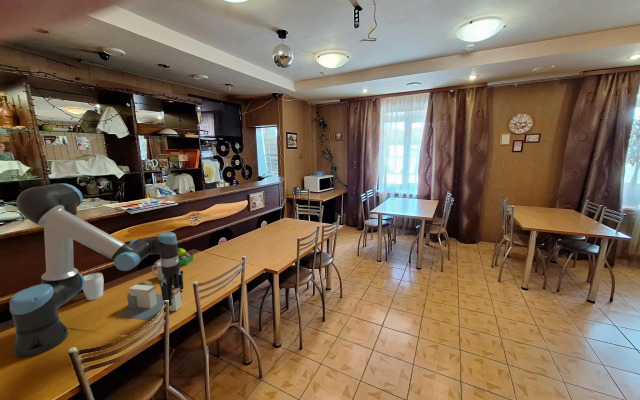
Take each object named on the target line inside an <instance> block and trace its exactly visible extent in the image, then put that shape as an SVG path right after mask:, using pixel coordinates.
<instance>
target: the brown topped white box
mask: <svg viewBox="0 0 640 400" xmlns="http://www.w3.org/2000/svg"><path fill="white" fill-rule="evenodd" d="M181 294H182V293H181ZM181 294H180V288H174V286H172V298H173V300H174V309H175V310H174V311H173V312H177V311H179V309H180V308H182V307H183V304H182V299H181V297H182V295H181ZM164 301H165V300H164Z"/></svg>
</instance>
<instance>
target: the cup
mask: <svg viewBox="0 0 640 400" xmlns="http://www.w3.org/2000/svg"><path fill="white" fill-rule="evenodd" d="M83 277H84V279H85V284H84V287H83V289H82V290H83V293H84V296H85V297H86V300H88V301H93V300H94V301H95V300H97V299H101V298H102V297H103V295H104V284H105V283H104V275H103V273H102V272H95V273H94V272H93V273H89V274H86V275H83Z"/></svg>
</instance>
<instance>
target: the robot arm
mask: <svg viewBox="0 0 640 400" xmlns="http://www.w3.org/2000/svg"><path fill="white" fill-rule="evenodd" d="M83 199H84V198H83V193H82V192H81V191H80V189H79V188H77V187H76V186H74V185H72V184H69V183H52V184H47V185H42V186H40V185H39V186H34V187H29V188H27V189H25V190H23V191H21V192H20V193H19V195H18V196H17V198H16V208H17V210H18V211H19V213H20V214H21V215H22V216H23V217H25V218H26V219H27V220H29V221H31V222H32V223H34V224H36V225H38V226H40V227H43V232H44V233H43V234H44V251H45V256H44V257H45V270H46V271H45V272H44V273H43V274H42V275H41V283H40V284H35V285H32V286H29V287H28V288H24V289H22V290H19V291H18V292H17V293H15V294H14V295H13V296H12V297H11V298H10V300H9V312H10V315H11V318H12V322H13V327H14V328H15V333H16V336H15V339H14V343H13V347H12V350H13V356H14V357H16V358H27V357H33V356H36V355H39V354H42V353H45V352H46V351H47V352H48V351H49V350H51V349H53V348H56V347H57V346H58V345H60V344H62V343H63V342H64V341H65V340H66V339H67V337H68V336H69V332H68V331H69V330H68V328H67V326H66V325H65V324H64V323H63V322H62V320H61V319H60V317H59V312H58V309H59V308H60V307H62V306H64V304H66V303H67V302H69V301H70V300H72V299H73V298H74V297H76V296H77V295H78V294H80V292H81V291H82V290H83V287H84V284H85V279H84V275H83V274H81V273H80V271H79V270H78V269H77V268H76V267H74V266H75V265H74V262H75V261H74V241H76V242H77V243H80V244H81V245H83V246H86V247H87V248H89V249H91V250H93V251H95V252H97V253H99V254H101V255H103V256H104V257H107V258H108V259H111V260H112V261H113V265H114V266H115V267H116V269H117V270H119V271H125V272H126V271H130V270H132V269H134V268H135V267H137V265H140V262H142V261H143V260H144V259H145V258H146V257H148V256H149V255H159V258H160V261H161V266H162V267H161V268H162V274H163V275H164V280H163V281H160V282H159V283H158V285H159V286H160V290H161V295H162V299H163V300H169V310H170V312H175V311H174V310H175V309H174V300H173V298H172V287H173V288H180V294H182V293H183V290H184V276H183V274H184V271H183V270H181V269H180V266H181V265H179V263H178V262H179V258H178V257H179V256H178V240H177V239H178V238H177V234H176V233H175V232H171V231H169V232H162V233H160V234H158V236H157V237H156V238H155V237H153V238H137V239H131V240H130V241H129V243H128V244H127V243H126V242H124V241H122V240H120V239H119V238H116V237H114V236H113V235H111V234H109V233H108V232H105V231H104V230H102V229H100V228H98V227H96V226H94V225H92V224H90V223H89V222H87V221H86V220H84V219H83V218H82V219H81V218H80V217H79V216H77V214H78V210H77V209H78V208H77V207H79V206H80V205H81V204H82V203H83ZM169 310H168V311H169Z"/></svg>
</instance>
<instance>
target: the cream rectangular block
mask: <svg viewBox="0 0 640 400" xmlns="http://www.w3.org/2000/svg"><path fill="white" fill-rule="evenodd" d="M137 284H138V283H137ZM137 284H133V286H131V287H129V289H128V291H129V295H128V296H126V299H127V304H128V309H129V308H135V309H136V308H137V307H141V308H150V309H151V308H152V307H154V306H155V305H156V304H157V299H156V294H157V293H156V286H155V285H153V286H147V285H137Z"/></svg>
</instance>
